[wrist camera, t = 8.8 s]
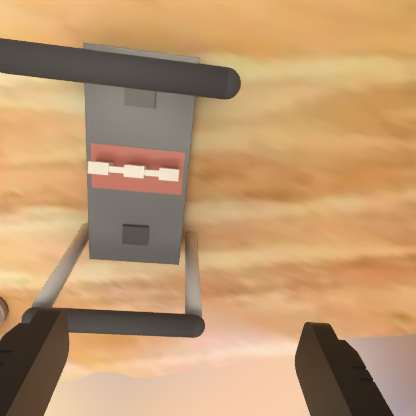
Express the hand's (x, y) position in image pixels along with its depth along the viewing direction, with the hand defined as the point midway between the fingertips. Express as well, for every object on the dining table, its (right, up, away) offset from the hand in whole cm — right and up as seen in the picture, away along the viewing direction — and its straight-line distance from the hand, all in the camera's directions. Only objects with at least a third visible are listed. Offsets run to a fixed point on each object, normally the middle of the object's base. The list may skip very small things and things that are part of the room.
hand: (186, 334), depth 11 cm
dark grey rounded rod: (-5, +14, +11) cm, 18 cm away
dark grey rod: (-8, -6, +19) cm, 21 cm away
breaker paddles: (-7, +8, +25) cm, 27 cm away
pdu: (-7, +10, +30) cm, 32 cm away
